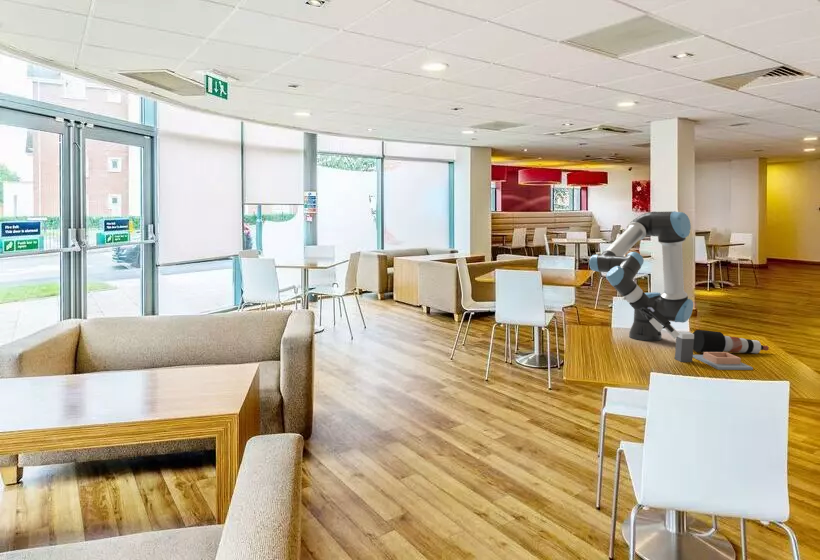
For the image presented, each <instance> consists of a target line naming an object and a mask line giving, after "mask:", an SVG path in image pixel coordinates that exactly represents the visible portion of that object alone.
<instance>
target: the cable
mask: <svg viewBox="0 0 820 560" xmlns="http://www.w3.org/2000/svg"><path fill="white" fill-rule="evenodd" d="M692 334H694V345H693V352H696V353H704V352H727V353H734V354H735V353H736V354H737V353H742V354H744V353H745V354H759V353H760V352H761V351H766V352H767V351H768V350H770V347H769V346H768V345H763V344H761V342H760V341H759V340H756V339H755V340H754V339H749V338H743V337H737V336H729V335H724V333H722V332H721V331H712V330H703V329H695V330H694V331H693V332H692Z"/></svg>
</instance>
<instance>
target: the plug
mask: <svg viewBox="0 0 820 560" xmlns="http://www.w3.org/2000/svg"><path fill="white" fill-rule="evenodd" d="M677 332H678V333H679V335H678V336H677V337H676V338H675V339H676V340H675V350H674V352H675V353H674V360H676V361H678V362H680V363H692V362H693V359H694V358H693V355H694V350H693V345H694V334H693V332H690V331H677Z"/></svg>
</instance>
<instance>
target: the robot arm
mask: <svg viewBox="0 0 820 560" xmlns="http://www.w3.org/2000/svg"><path fill="white" fill-rule="evenodd" d="M691 228H692V227H691V221H690V218H689V216H688V214H686V213H685V212H683V211H675V210H674V211H649V212H646V213H642V214H641V215H639V216H637V217H636V218H635V219H633V220H632V221H630V222H629V223H628V224H627V226H626V229H625V230H624V231H623V232H622V233H621V234H620V235H619V236H617V238H616V239H614V241H613V242H612V243H611V244H609V245H608V247H606V249H604V251H602V253H600V254H593V255H591V256H590V257H589V262H588V265H589V268H590V270H591V271H593V272H598V273H605V274H606V275H605V278H606V280H607V281H608V283H609V284H610V286H612V287H613V288H614V289H615V290H616V291H617V292H618V293H619V294H620V295H621V296H622V297H623V298H622V300H624V301H627V303H629V305H630V306H631V307H632V308H633V309H634V311H633V323H632V325H631V328H630V329H629V333H628V335H629V336H628V337H629V338H630V339H634V340H639V341H647V342H649V341H650V342H654V341H655V342H657V341H658V342H659V341H661V340H662V332H661V331H662V330H663V329H664V330H666V331H667V333H668V334H669V335H670V336H671V337H672V338H673V339H676V337H677V336H678V335H679V333H678V332H679V331H677V329H675V328H674V326H673V325H672V322H674V323H682V324H683V323H686V322H687V321H689V319H690V317H691V316H692V313H693V309H694V301H693V300H692V299H690V298H688V297H689V295H688V293H687V292H686V291H685V288H684V287H685V286H684V285H685V283H684V282H685V281H684V260H683V259H684V257H683V252H684V251H683V243H684V242H685V241H686V239H687V238H688V237H689V235H690V234H691ZM646 237H657V240H658V241H657V242H658V243H660V244H661V248H662V250H661V251H662V271H663V272H662V273H663V275H662V276H663V292H662V293H661V292H656V291H655V292H653V291H651V292H644V290H643V289H642V288H641V287H640V286H639V285H638V284H637V283H636V282H635V280H634V278H636V275H637V274H638V272H639V271H640V270H641V268H642V265H643V264H644V262H645V261H644V257H643V255H642V254H641V253H639V252H637V251H630V250H631V249H632V247H633V246H634V245H636V244H637V243H638V241H641V240H643V239H645V238H646ZM629 251H630V252H629ZM627 252H628V253H627Z"/></svg>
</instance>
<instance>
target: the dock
mask: <svg viewBox="0 0 820 560" xmlns="http://www.w3.org/2000/svg"><path fill="white" fill-rule="evenodd" d="M693 359H696V360H698V361H700V362H702V363H704V364H707V365H708V366H710V367H712V368H714V369H716V370H718V371H719V370H722V371H723V370H724V371H725V370H727V371H729V370H730V371H731V370H735V371H737V370H738V371H739V370H741V371H747V370H748V371H749V370H750V371H751V370H752V371H753V369H754V368H753V367H752V366H751V365H748V364H746V363H743V362H742V361H741V360H742V357H739V356H736V355H734V354H732V353H731V352H725V351H723V352H704V353H703V354H693Z"/></svg>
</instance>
